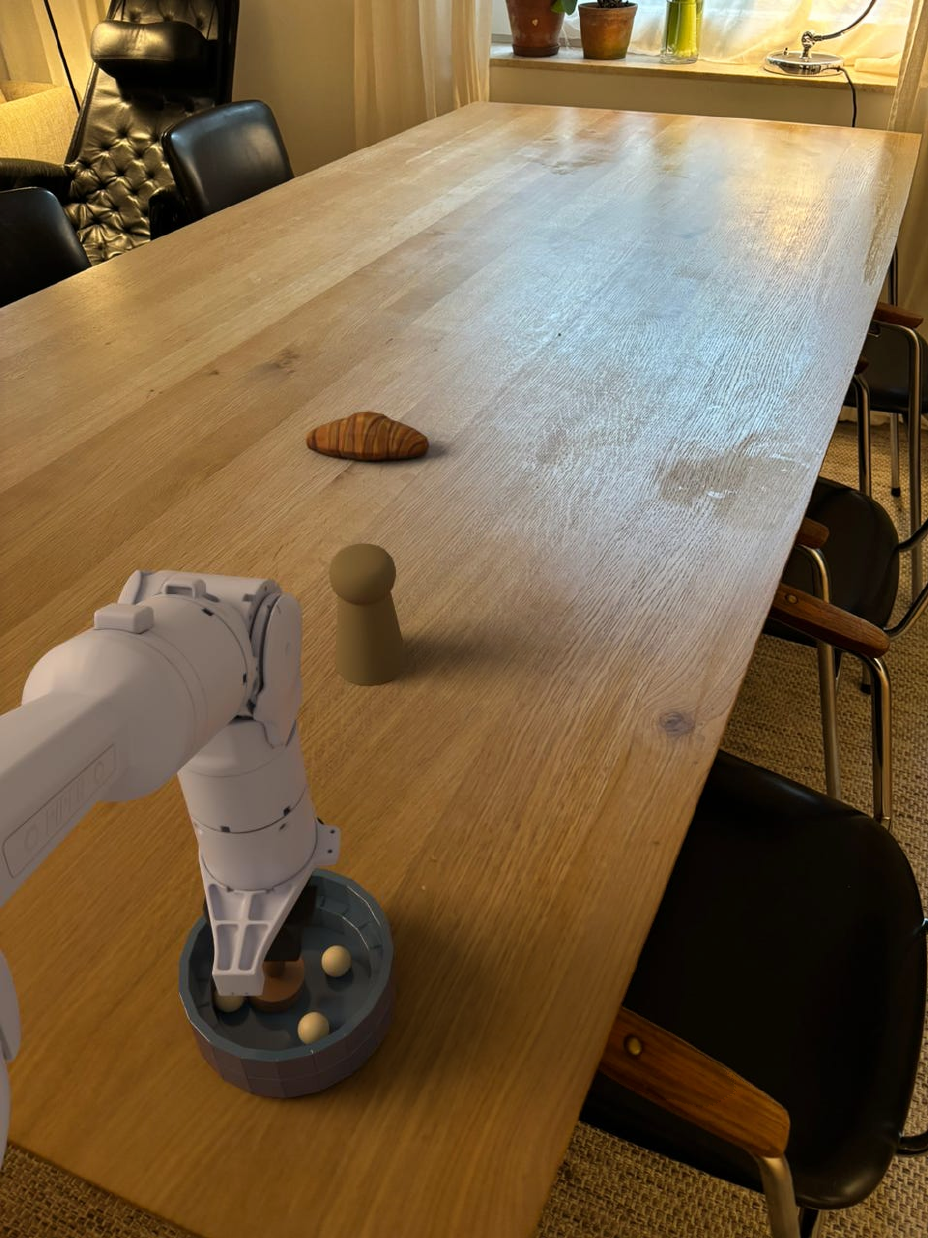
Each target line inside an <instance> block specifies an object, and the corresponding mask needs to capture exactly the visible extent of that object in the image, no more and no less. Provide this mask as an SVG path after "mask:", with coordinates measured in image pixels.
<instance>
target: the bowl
mask: <svg viewBox="0 0 928 1238" xmlns="http://www.w3.org/2000/svg"><path fill="white" fill-rule="evenodd" d="M309 885H319V886H318V893H317V900H316V907H315V912H314V916H313V919H312V921H311V924H310V926H308V927H307V928H305V929H304V930H303V942H302V949H301V954H300V956H301V958H302V959H303V962H304V965H305V981H304V988H303V992H302V994H301V996H300V998H299V999H298V1001H297V1002H296V1003H295V1004H294V1005H293V1006H291V1007H290V1008H288V1009H286V1010H284V1011H281V1012H276V1013H268V1012H263V1011H261V1010H258V1009H257V1008H255V1007H254V1006H253V1005H252V1004H251V1003H250V1002H249V1001H248V999H247V997H246V996H245V1000H244V1002H243V1004H242V1006H241V1007H240V1008H239V1009H237V1010H235V1011H233V1012H224V1011H222V1010H220V1009H219V1008H218V1007H217V1006H216V1004H215V1000H214V994H215V991H216V989H217V987H216V984H215V981H214V978H213V975H212V971H213V965H214V957H215V946H214V937H213V932H212V928H211V927H210V926H209V925H208V924H207V921H206V919H205V916H204V912H202V914H201V915H200V916H199V918H198V919H197V920H196V922H195V923H194V925H193V926H192V927H191V929H190V930H189V932H188V935H187V937H186V940H185V943H184V946H183V948H182V951H181V954H180V957H179V959H178V970H177V971H178V972H177V973H178V976H177V977H178V979H177V982H178V984H177V985H178V986H177V992H178V996H179V998H180V1001H181V1004H182V1006H183V1008H184V1012H185V1014H186V1017H187V1020H188V1022H189V1025H190V1027H191V1030H192V1033H193V1036H194V1038H195V1041H196V1043H197V1047H198V1048H199V1050H200V1053H201V1056H202V1058H203V1059H204V1060H205V1062H206V1063H207V1064H208V1065H209V1066H210V1067H211V1068H212V1069H213V1070H214V1071H215V1073H216V1074H217V1075H218V1076H219V1077H220V1078H221V1080H223V1081H224V1082H226V1083H228V1084H230V1085H232V1086H234V1087H236V1088H239V1089H240V1090H242V1091H244V1092H246V1093H249V1094H251V1095H255V1096H265V1097H273V1098H282V1099H290V1098H295V1097H300V1096H304V1095H310V1094H314V1093H319V1092H321V1091H325V1090H326V1089H328V1088H329V1087H332V1086H333V1085H335V1084H337V1083H339V1082H341V1081H342V1080H345V1079H346V1078H348V1077H349V1076H352V1075H353V1074H354V1073H355V1072H356V1071H357V1070H358V1069H359V1068H360V1067H361V1066H362V1065H363V1064H364V1063H365V1062H366V1061H367V1060H368V1059H369V1058H370V1057H371V1056H372V1055H373V1054H374V1053H375V1052H376V1051H377V1049H378V1048H379V1046H380V1044H381V1042H382V1041H383V1038H384V1037H385V1035H386V1033H387V1031H388V1029H389V1028H390V1025H391V1023H392V1022H393V1019H394V1014H395V1010H396V1009H395V1008H396V1003H397V997H398V992H399V991H398V990H399V985H398V977H397V970H396V969H397V968H396V959H395V950H394V944H393V937H392V931H391V925H390V923H389V919H388V918H387V916H386V914H385V913H384V911H383V909H382V908H381V906H380V904H379V903H378V901H377V899H376V897H374V896H373V895H372V894H371V893H370V892H369V891H367V890H366V889H365V888H364V887H363V886H362V885H360V884H359V883H358V882H356V881H355V880H354V879H352V878H350V877H348V876H345V875H344V874H343V875H342V874H340V873H337V872H335V871H332V870H330V869H327V868H321V867H317V868H316V869H315V870H314V872H313V874H312V876H311V880H310V883H309ZM333 946H342V947H344V948H345V949H347V950H348V952H349V953H350V956H351V966H350V968H349V970H348V971H347V972H346V973H345V974H344V975H342V976H339V977H333V976H330V975H328V974H327V973H326V972H325V971H324V969H323V967H322V957H323V954H324V953H325V951H326V950H327V949H329V948H330V947H333ZM312 1012H317V1013H320V1014H322V1015H324V1016H325V1017H326V1019H327V1020H328V1023H329V1034H328V1035H327V1036H326V1037H324V1038H322V1039H320V1040H318V1041H316V1042H314V1043H312V1044H310V1045H307V1044H305V1043H303V1042H302V1040H301V1039H300V1037H299V1034H298V1026H299V1023H300V1021H301V1019H302V1018H303V1017H304V1016H305V1015H307V1014H309V1013H312Z"/></svg>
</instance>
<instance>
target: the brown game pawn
mask: <svg viewBox="0 0 928 1238" xmlns="http://www.w3.org/2000/svg"><path fill="white" fill-rule="evenodd" d="M328 577H329V582H330V583H329V584H330V586H331V588H332V591H334V593H335V594H336V596H337V611H336V633H335V636H336V637H335V654H334V655H335V657H334V664H335V670H336V671H337V673H338V674H339V675H340V677H341V678H343V679H344V680H346V681H347V682H348V683H352V684H356V685H358V686H370V687H371V686H378V685H383V684H385V683H388V682H390V681H393V680H394V679H396V678H398V677H399V676H400V675H401V674H402V673H403V672H404V669H405V668H406V666H407V662H408V656H407V651H406V646H405V643H404V640H403V635H402V631H401V627H400V622H399V619H398V614H397V610H396V605H395V603H394V598H393V595H392V590H393V588H394V586H395V582H396V578H397V568H396V564H395V561H394V558H393V557H392V556H391V555H390V554H389V552H388V551H387V550H386V549H385V548H382V546H379V545H376V544H372V543H363V542H362V543H361V542H360V543H355V544H350V545H348V546H346V547H345V546H344V547H343V548H342V549H340V550H339V551H338V552H337V553H336V554H335V555H334V556H333V558H332V559H331V561H330V564H329V569H328Z"/></svg>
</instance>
